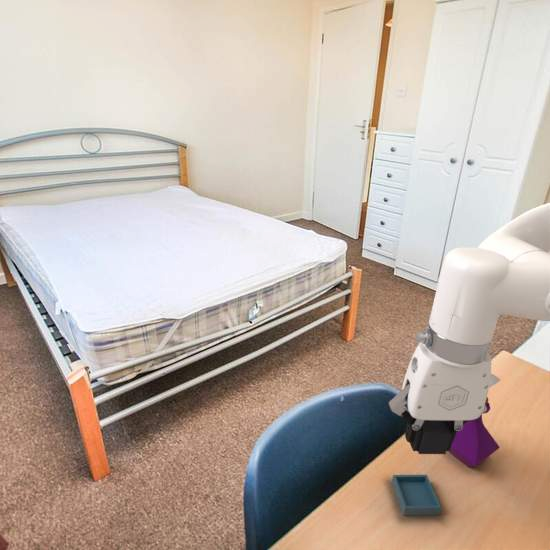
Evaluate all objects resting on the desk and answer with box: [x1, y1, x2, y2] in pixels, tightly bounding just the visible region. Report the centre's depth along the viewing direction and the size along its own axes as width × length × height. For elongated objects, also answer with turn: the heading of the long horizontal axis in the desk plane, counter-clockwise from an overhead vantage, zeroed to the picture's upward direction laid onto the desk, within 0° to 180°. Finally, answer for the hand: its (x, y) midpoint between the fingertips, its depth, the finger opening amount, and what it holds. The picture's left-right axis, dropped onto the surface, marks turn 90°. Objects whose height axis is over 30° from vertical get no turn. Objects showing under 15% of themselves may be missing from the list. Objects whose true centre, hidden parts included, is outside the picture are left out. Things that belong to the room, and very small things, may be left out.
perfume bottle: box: [448, 373, 501, 468], centre depth 67 cm, size 8×8×18 cm
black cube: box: [417, 420, 452, 455], centre depth 57 cm, size 4×4×4 cm
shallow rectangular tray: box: [391, 474, 442, 517], centre depth 62 cm, size 6×6×2 cm
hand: (427, 442), depth 57 cm, fingers closed on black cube, 4 cm apart
